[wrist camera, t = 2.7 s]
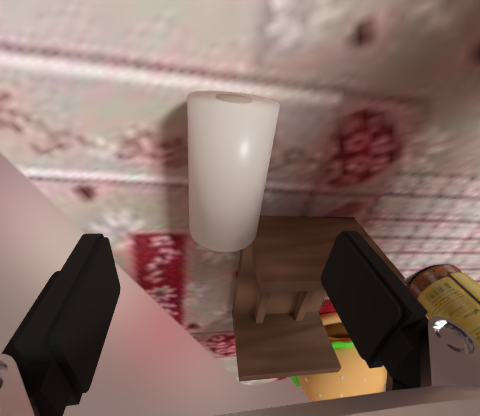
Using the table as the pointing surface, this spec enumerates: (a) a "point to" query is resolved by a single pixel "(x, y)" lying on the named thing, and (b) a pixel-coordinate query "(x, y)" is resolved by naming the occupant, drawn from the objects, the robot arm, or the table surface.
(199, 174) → the roll
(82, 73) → the table surface
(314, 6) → the table surface
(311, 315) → the holder
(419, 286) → the sauce bottle
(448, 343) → the robot arm
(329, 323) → the hamburger
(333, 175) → the table surface
